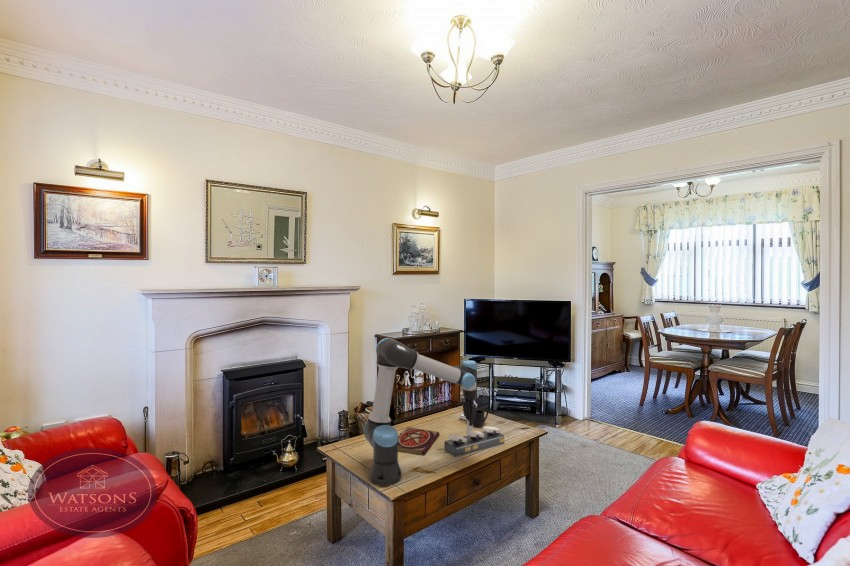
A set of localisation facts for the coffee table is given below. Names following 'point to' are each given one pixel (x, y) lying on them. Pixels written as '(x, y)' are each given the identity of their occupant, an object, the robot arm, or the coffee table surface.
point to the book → (416, 440)
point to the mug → (479, 418)
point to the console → (473, 444)
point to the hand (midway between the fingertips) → (469, 430)
